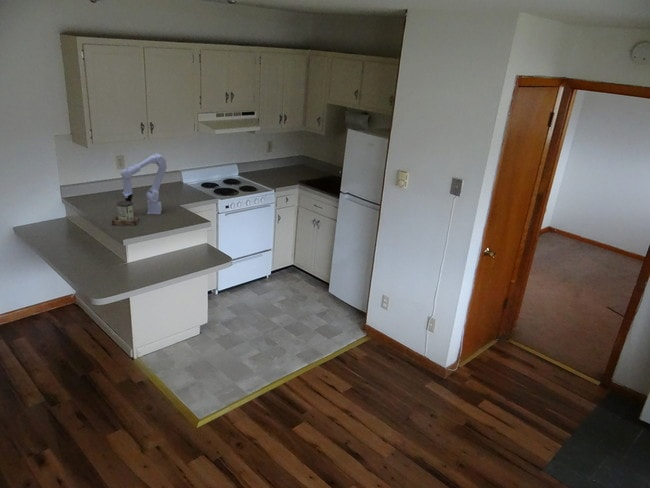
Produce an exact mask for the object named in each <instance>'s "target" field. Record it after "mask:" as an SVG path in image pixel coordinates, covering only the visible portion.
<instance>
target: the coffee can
mask: <svg viewBox="0 0 650 488" xmlns="http://www.w3.org/2000/svg"><path fill="white" fill-rule="evenodd" d="M116 205H117V208H116V209H117V216H118V220H135V215H134V206H133V205H134V202H133V201H132V200H131V201H126V200H122V201H121V200H120V201H117V203H116Z"/></svg>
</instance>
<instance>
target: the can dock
mask: <svg viewBox="0 0 650 488" xmlns="http://www.w3.org/2000/svg"><path fill="white" fill-rule="evenodd" d="M139 221H140V216H136V217H134V220H119V218H118V215H114V218H113V219H112V220H111V225H112V226H137V225H138V223H139Z"/></svg>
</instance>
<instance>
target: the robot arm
mask: <svg viewBox="0 0 650 488" xmlns="http://www.w3.org/2000/svg"><path fill="white" fill-rule="evenodd" d="M151 164H154V165H155V164H156V166H157V167H158V169H157V171H156V174H155V177H154V179H153V182H152V185H151V187H150V188H149V189H148V191H147V192H146V195H145V197H146V199H147V213H146V214H147V215H161V213H162V211H163V210H162V209H163V208H162V201H159V195H160V191H159V190H160V187H161V184H162V182H163V179H164V177H165V175H166V172H167V168H168V167H167V160H166V158H165V157H164V156H163V155H162V154H159V153H158V152H157V153H154V154H151V155H150V156H149V157H147V158H146V159H144V160H143V161H141V162H139V163H132V164H131V166H129V167H126V169H122V170H121V172H120V176H121V178H122V188H123V192H121V194H123V198H124V199H125V200H124V201H131V202H132V199H133V196H134V193H133V186H132V177H133V176H134V175H136V174H138V173H139V172H140V171H141V169H142V168H144V167H146V166H148V165H151Z"/></svg>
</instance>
